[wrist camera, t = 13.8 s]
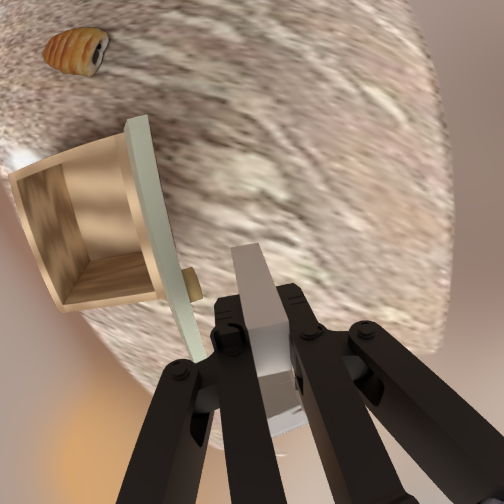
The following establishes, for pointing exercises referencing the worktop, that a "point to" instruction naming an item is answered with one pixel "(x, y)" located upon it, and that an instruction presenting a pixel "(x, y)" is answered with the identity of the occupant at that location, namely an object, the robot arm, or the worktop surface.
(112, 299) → the box
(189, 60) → the worktop surface
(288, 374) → the skincare box
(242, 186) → the worktop surface
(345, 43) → the worktop surface
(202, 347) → the lid
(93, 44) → the pastry
